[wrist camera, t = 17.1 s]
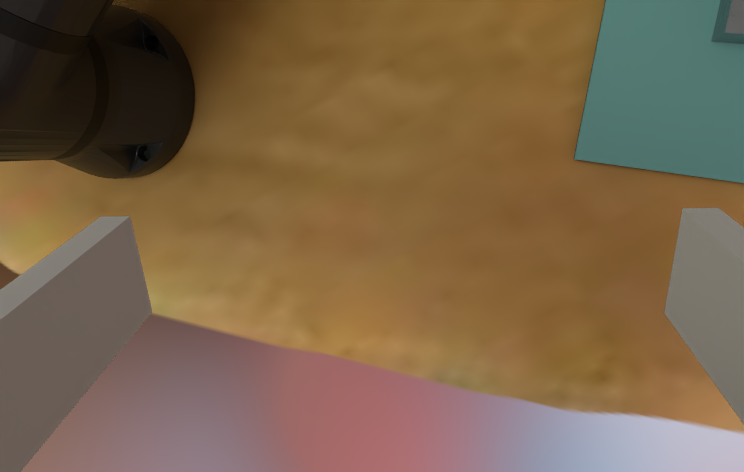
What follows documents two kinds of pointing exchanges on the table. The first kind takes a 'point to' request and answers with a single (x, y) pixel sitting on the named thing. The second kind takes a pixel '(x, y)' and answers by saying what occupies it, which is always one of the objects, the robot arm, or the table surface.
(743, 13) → the bar
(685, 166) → the teal mat
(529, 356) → the table surface
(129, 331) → the robot arm
